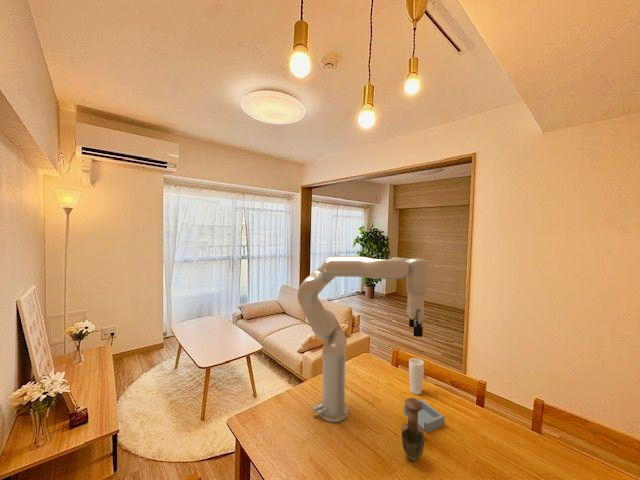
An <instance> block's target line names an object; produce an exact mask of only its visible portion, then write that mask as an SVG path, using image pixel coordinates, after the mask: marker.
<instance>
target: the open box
mask: <svg viewBox="0 0 640 480" xmlns="http://www.w3.org/2000/svg"><path fill="white" fill-rule="evenodd" d="M417 400H418V401H420V402H421V404H422V409H421V410H420V411H418V426H419V427H420V428H421V429H422V431H423V432H424V433H425V434H427V433H430V432H432V431H435V430H437V429H441V428H442V427H444V426H445V418H446V417H445V416H444V414H442V413H441V412H439V411H438V410H437V409H435V408H434V407H432V405H430V404H429V403H427V402H426V401H425V400H423V399H422V398H420V399H417ZM403 414H404V415H405V416H407V417H408V409H407V408H406V406H405V404H404V405H403Z"/></svg>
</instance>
